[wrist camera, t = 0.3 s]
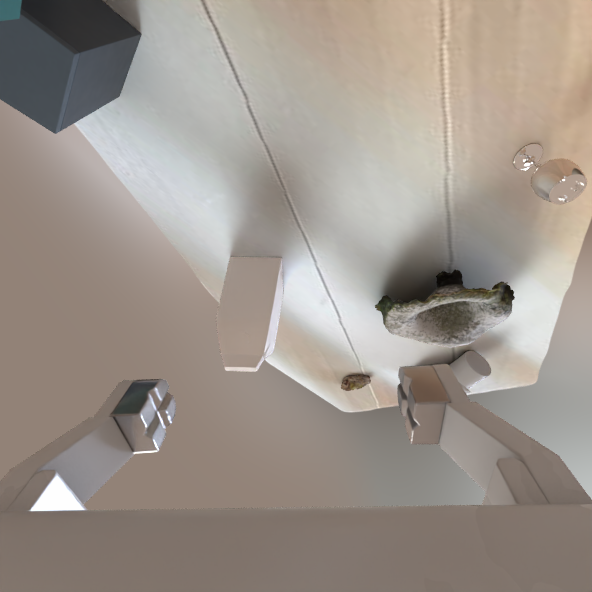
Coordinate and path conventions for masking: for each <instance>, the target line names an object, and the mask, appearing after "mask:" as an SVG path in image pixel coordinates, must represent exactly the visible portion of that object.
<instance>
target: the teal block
mask: <svg viewBox="0 0 592 592" xmlns="http://www.w3.org/2000/svg"><path fill="white" fill-rule="evenodd" d="M21 3H22V0H0V21H5V20H13V19H19V18H20V10H21Z"/></svg>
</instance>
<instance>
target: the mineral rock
mask: <svg viewBox="0 0 592 592" xmlns="http://www.w3.org/2000/svg"><path fill="white" fill-rule="evenodd" d="M370 382H371V380H370V377H369V376H365V375H358V376H347V377H346V378H344V380H343V382H342V385H341V389H343V390H346V391H350V390H354V389H359V388H362V387H364V386H365V385H367V384H369V383H370Z"/></svg>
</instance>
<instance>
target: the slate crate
mask: <svg viewBox="0 0 592 592" xmlns="http://www.w3.org/2000/svg"><path fill="white" fill-rule="evenodd" d="M140 37H141V33H140V32H138V31H137V30H136V29H135V28H134V27H132V26H131V25H130V24H129V23H128V22H127V21H125V20H124V19H123V18H122V17H121V16H120V15H118V14H117V13H116V12H115V11H114V10H112V9H111V8H110V7H109V6H108V5H107V4H105V3H104V2H103V1H102V0H22V3H21V10H20V18H19V19H13V20H5V21H0V99H1V100H2V101H4V102H6V103H7V104H9V105H10V106H12V107H13V108H15V109H17V110H18V111H20V112H21V113H23V114H25V115H26V116H28V117H29V118H31V119H32V120H34V121H36V122H37V123H39V124H40V125H42V126H44V127H45V128H47V129H48V130H50V131H52V132H53V133H55V134H56V133H58V132H59V131H61V130H63V129H65V128H67V127H68V126H70V125H72V124H73V123H75V122H77V121H78V120H80V119H82V118H84V117H85V116H87V115H89V114H90V113H92V112H94V111H95V110H97V109H99V108H101V107H102V106H104V105H106V104H107V103H109V102H111V101H112V100H114V99H116V98H118V97H119V96H120V93H121V90H122V88H123V85H124V82H125V79H126V76H127V74H128V71H129V68H130V65H131V62H132V60H133V57H134V54H135V51H136V49H137V46H138V43H139V40H140Z"/></svg>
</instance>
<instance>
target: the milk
mask: <svg viewBox="0 0 592 592" xmlns="http://www.w3.org/2000/svg"><path fill="white" fill-rule="evenodd" d="M283 294H284V292H283V272H282V258H277V257H230V259H229V263H228V267H227V272H226V276H225V281H224V285H223V290H222V294H221V299H220V303H219V307H218V312H217V317H216V325H217V333H218V339H219V346H220V352H221V357H222V360H223V363H224V367H225V370H226V371H252V372H257V370H258V368H259V367H260V365H261V364H262V362H263V360H264V359H265V358H266V357H268V356H270V355H271V354H272V353H273V351H274V347H275V341H276V335H277V329H278V323H279V317H280V311H281V305H282V300H283Z"/></svg>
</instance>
